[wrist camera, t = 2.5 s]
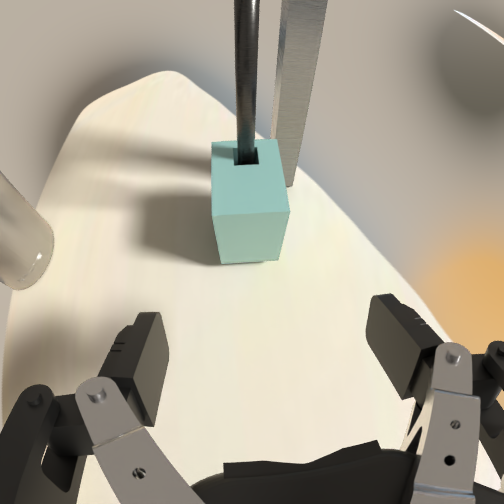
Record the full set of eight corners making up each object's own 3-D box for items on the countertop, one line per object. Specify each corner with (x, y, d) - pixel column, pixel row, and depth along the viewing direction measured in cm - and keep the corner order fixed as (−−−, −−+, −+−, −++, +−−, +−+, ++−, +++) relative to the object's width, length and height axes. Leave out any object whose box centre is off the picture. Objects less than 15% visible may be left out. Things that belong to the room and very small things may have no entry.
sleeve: (278, 260, 26) (290, 211, 19) (221, 264, 26) (211, 215, 19) (270, 197, 29) (276, 139, 22) (219, 200, 29) (211, 142, 21)
